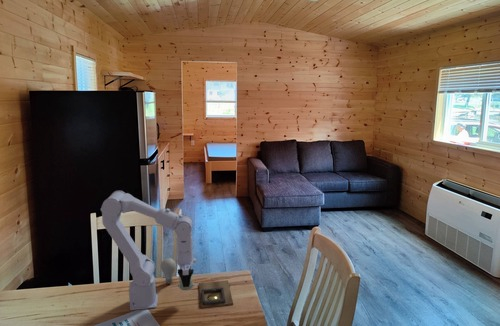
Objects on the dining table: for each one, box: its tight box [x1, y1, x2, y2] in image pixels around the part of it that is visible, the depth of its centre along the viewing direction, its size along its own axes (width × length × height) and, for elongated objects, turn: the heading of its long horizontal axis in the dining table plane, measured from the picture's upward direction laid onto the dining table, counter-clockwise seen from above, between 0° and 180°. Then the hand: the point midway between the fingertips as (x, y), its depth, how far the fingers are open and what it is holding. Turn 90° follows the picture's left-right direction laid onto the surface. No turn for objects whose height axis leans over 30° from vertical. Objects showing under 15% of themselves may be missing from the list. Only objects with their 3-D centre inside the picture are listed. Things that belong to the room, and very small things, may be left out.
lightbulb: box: [160, 257, 177, 285], centre depth 148 cm, size 6×6×11 cm
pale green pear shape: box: [177, 275, 195, 291], centre depth 135 cm, size 6×5×5 cm
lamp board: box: [198, 279, 234, 309], centre depth 141 cm, size 12×16×1 cm
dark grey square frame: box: [202, 288, 225, 305], centre depth 138 cm, size 8×8×1 cm
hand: (186, 282), depth 135 cm, fingers closed on pale green pear shape, 5 cm apart
